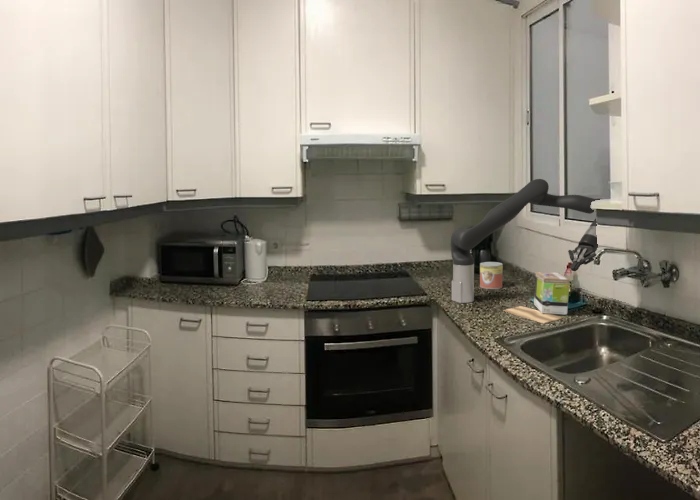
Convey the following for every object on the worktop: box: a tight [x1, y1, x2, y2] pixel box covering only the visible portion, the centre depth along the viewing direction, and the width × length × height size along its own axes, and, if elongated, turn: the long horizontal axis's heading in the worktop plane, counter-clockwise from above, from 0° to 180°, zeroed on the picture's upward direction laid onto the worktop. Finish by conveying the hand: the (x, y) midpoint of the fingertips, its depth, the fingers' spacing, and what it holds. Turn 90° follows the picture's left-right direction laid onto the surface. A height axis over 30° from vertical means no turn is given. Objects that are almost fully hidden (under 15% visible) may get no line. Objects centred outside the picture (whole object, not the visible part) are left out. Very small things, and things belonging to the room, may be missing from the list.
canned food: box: [479, 261, 504, 290], centre depth 222 cm, size 11×11×12 cm
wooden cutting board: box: [502, 305, 564, 324], centre depth 174 cm, size 11×20×1 cm, turn 28°
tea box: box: [533, 271, 571, 315], centre depth 178 cm, size 15×10×15 cm, turn 168°
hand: (572, 270), depth 182 cm, fingers closed
